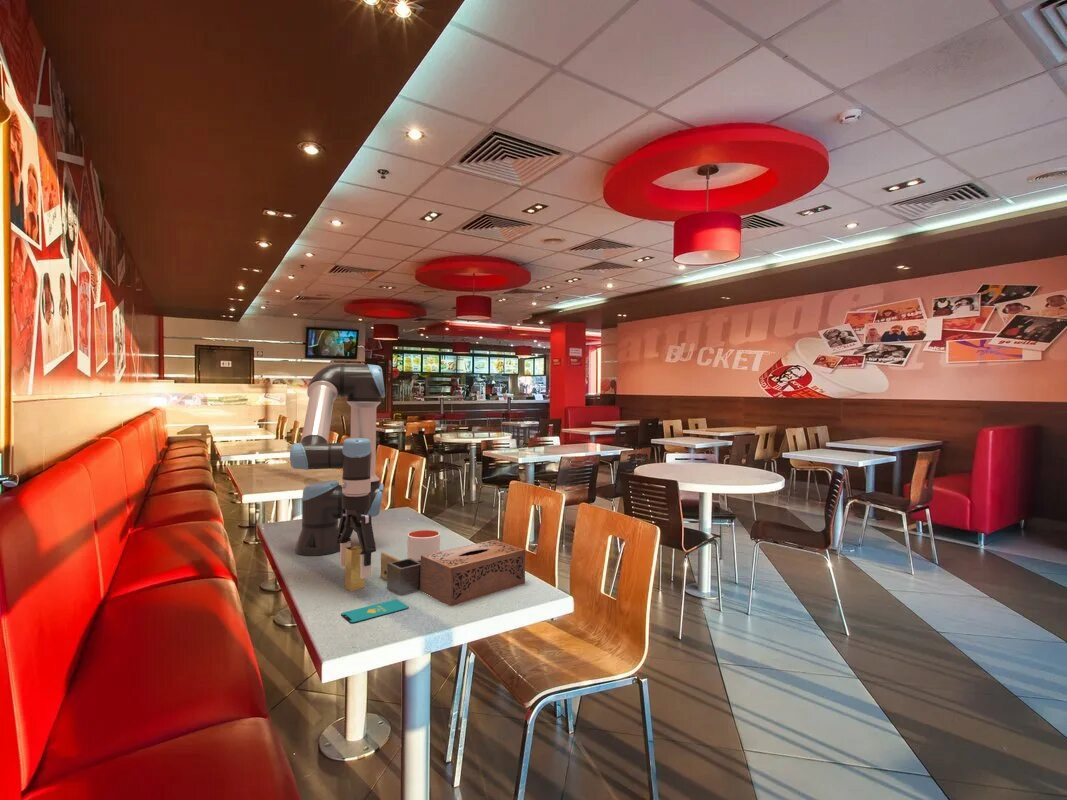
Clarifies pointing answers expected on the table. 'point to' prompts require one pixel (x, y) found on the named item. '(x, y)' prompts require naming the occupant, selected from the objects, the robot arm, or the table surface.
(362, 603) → the table surface
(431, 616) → the table surface
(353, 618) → the smartphone
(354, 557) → the pin
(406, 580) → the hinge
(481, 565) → the tissue box cover
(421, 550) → the cup
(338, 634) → the table surface
